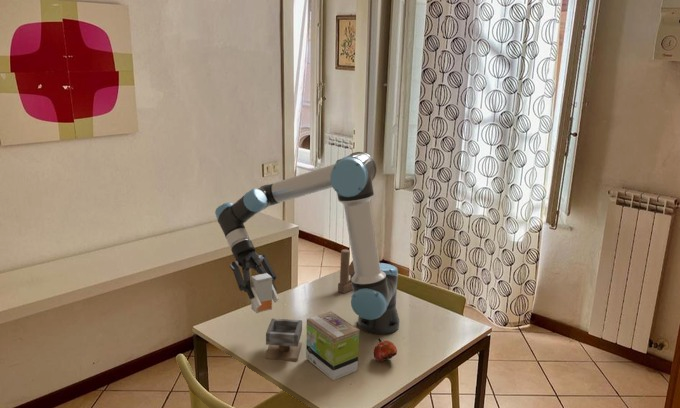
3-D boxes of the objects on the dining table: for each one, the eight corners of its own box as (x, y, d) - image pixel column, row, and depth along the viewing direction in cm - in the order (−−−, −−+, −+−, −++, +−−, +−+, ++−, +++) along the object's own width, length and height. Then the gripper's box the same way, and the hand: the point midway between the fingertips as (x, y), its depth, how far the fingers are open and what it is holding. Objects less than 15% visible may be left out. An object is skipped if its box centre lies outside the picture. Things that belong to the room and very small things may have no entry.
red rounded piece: (399, 368, 178) (389, 340, 183) (403, 360, 172) (393, 331, 177) (377, 373, 176) (368, 344, 181) (381, 365, 170) (371, 335, 176)
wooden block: (361, 287, 234) (363, 247, 229) (343, 294, 226) (345, 252, 222) (355, 284, 236) (357, 244, 232) (337, 291, 229) (338, 250, 224)
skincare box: (256, 313, 183) (255, 280, 180) (251, 309, 187) (250, 276, 184) (272, 309, 187) (272, 276, 184) (267, 305, 190) (266, 272, 187)
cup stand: (301, 344, 186) (302, 320, 184) (297, 360, 176) (297, 335, 174) (271, 342, 186) (271, 318, 184) (265, 358, 177) (265, 333, 174)
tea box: (304, 359, 177) (305, 317, 173) (329, 350, 183) (331, 309, 179) (332, 381, 166) (334, 337, 162) (358, 371, 171) (360, 328, 168)
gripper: (260, 244, 200) (286, 300, 192) (212, 255, 187) (238, 316, 180) (268, 233, 194) (296, 291, 187) (219, 244, 182) (247, 307, 174)
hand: (267, 303), depth 183 cm, fingers closed on skincare box, 6 cm apart
